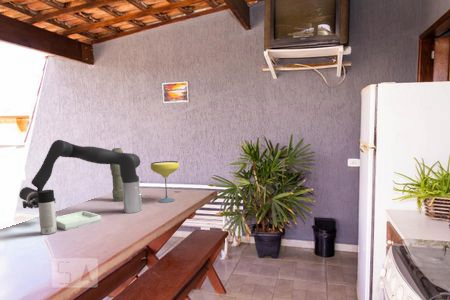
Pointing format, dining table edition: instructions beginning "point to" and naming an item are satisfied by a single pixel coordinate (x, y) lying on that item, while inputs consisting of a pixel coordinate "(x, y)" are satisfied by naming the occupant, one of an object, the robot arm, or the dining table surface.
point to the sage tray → (77, 220)
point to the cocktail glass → (165, 173)
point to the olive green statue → (117, 180)
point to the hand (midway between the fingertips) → (41, 204)
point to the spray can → (47, 212)
